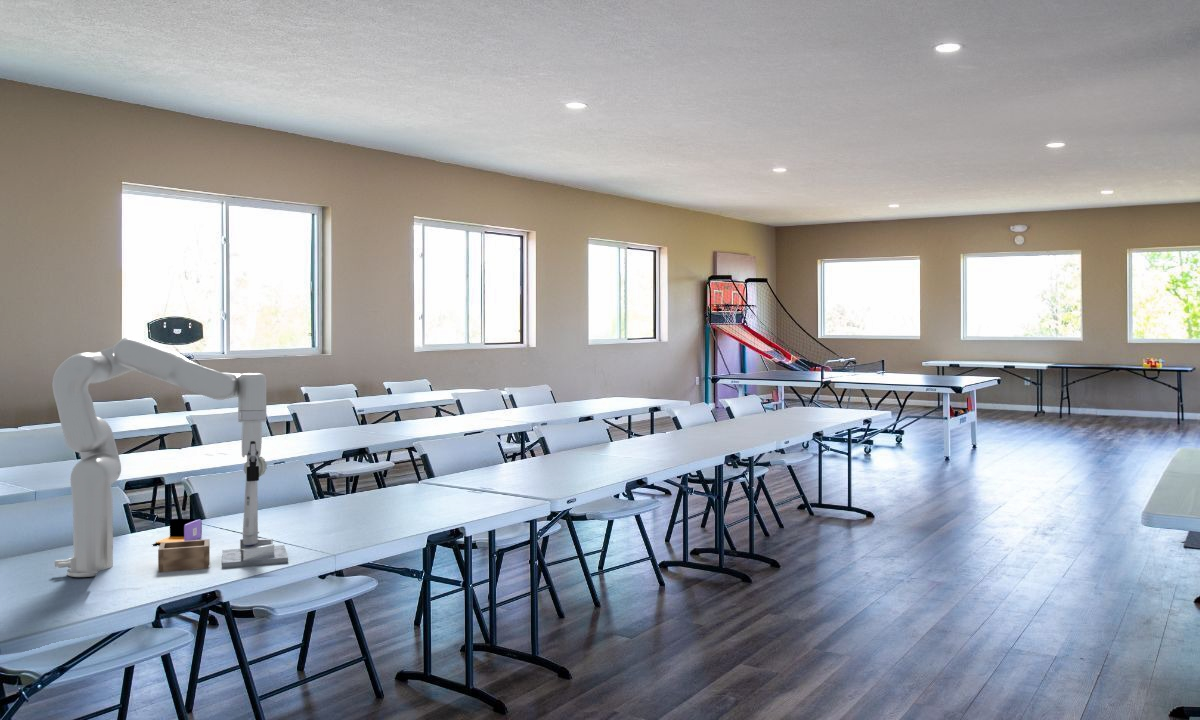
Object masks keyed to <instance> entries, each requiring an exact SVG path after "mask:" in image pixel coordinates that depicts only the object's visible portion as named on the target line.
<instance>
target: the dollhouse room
mask: <svg viewBox="0 0 1200 720" xmlns="http://www.w3.org/2000/svg"><path fill="white" fill-rule="evenodd" d="M202 522H203V521H202V519H200V518H171V519H170V520H169V536H168V537H165V538H163V539H159V540H158V541H155V543H153V544H151V545H153V546H152V547H158V546H157V545H160V544H161V543H162V542H176V541H190V540H199V539H200V538H202V535H203V534H202V532H203V531H202V530H203V528H202V526H203V525H202Z"/></svg>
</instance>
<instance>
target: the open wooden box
mask: <svg viewBox="0 0 1200 720" xmlns="http://www.w3.org/2000/svg"><path fill="white" fill-rule="evenodd" d="M210 545H211V544H210V538H208V539H207V538H206V539H204V538H203V539H197V540H190V541H176V542H162V543H161V544H160V546H158V549H157V552H158V555H157V558H158V559H157V562H158V563H157V564H158V565H157V566H158V567H157V571H158V573H165V572H166V573H167V572H178V571H180V572H181V571H189V570H190V571H191V570H200V569H201V570H203V569H209V568H210V559H211V558H210V557H211V556H210V555H211V554H210V549H211V547H210Z"/></svg>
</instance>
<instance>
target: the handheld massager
mask: <svg viewBox="0 0 1200 720" xmlns="http://www.w3.org/2000/svg"><path fill="white" fill-rule="evenodd" d="M267 465H268V463H266V460H265V458H264V457H263V456H259V457H258V466H259V478H260V477H261V476H263V475H265V473H266V470H268V466H267ZM247 467H248V461H247V460H246V462H245V463H244V465H243V471H244V474H245V489H244V505H243V506H244V507H243V508H244V509H243V523H242V524H243V525H242V532H241V535H242V539H243V546H244V547H252V546H256V545H258V539H259V538H258V537H259V535H258V534H260V531H259V527H258V526H259V525H258V524H259V523H258V522H259V516H258V504H259V503H258V501H259V500H258V481H247Z"/></svg>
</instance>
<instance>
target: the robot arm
mask: <svg viewBox="0 0 1200 720" xmlns="http://www.w3.org/2000/svg"><path fill="white" fill-rule="evenodd" d="M132 371H133V372H137V373H139V374H140V373H141V374H143V375H146V376H149V377H152V378H155V379H157V380H160V381H162V382H166V383H168V384H170V385H173V386H176V387H179V388H182V389H184V390H186V391H190V392H192V393H196V394H198V395H201V396H204V397H207V398H210V399H213V400H217V401H222V400H227V399H233V398H237V405H238V406H237V408H238V409H237V417H238V418H237V423H241V457H242V458H245V456H246V462H247V461H248V467H247V481H257V482H259V481H260V477H259V466H258V457H261V452H262V443H263V442H262V441H263V440H262V437H263V423H265V422H267V376H266V375H265V374H264V373H259V372H254V373H253V372H247V373H246V372H245V373H232V372H220V371H218V370H215V369H212V368H209V367H206V366H203V365H200V364H198V363H196V362H194V361H191V360H189V359H188V358H187V357H185V356H184V355H182V354H181V353H178V352H175V351H172V350H170V349H167V348H163V347H161V346H158V345H155V344H152V343H150V342H148V341H147V340H145V339H143V338H140V337H132V336H131V337H130V336H129V337H123V338H121V339H119V340H118V341H117V342H116V343H115V345H113V346H110V347H108V348H104V349H102V350H99V351H96V352H79V353H76V354H73V355H71V356H70V357H68V358H66V359H65V360H63V362H61V364H59V365H58V367H57V368H56V370H55V372H54V374H53V377H52V393H53V397H54V400H55V404H56V408H57V412H58V417H59V422H60V426H61V429H62V434H63V437H64V441H65V443H66V446H67V448H69V450H71V451H73V452H74V453H79V456H80V459H81V460H79V461H78V462H77V463H76V464H75V465H74V467H73V468H72V471H71V473H70V490H71V495H72V496H71V499H72V519H73V520H72V527H73V529H72V535H73V536H72V538H73V539H72V545H73V547H72V549H73V551H72V552H73V553H72V557H68V558H67V559H55V560H54V568H60V569H61V568H68V569H66V575H67V576H68V577H73V578H88V577H89V578H90V577H96V576H97V574H98V572H99V571H104V570H107V569H110V568H113V567H114V524H113V523H114V506H113V505H114V504H113V503H114V501H113V493H112V485H113V484H114V483H115V482H117V481H118V479H119V478H120V476H121V473H122V465H121V464H122V463H121V460H120V456H119V451H118V447H117V443H116V441H115V436H114V433H113V430H112V428H111V426H110V424H109V423H108V421H106V420H105V419H103V418H102V417H99V416H97V414H96V411H95V408H94V407H95V406H94V402H93V398H92V396H91V394H90V391H89V386H90V384H98V383H102V382H106V381H109V380H112V379H114V378H117V377H120V376H123V375H125V374H128V373H131V372H132Z"/></svg>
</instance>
